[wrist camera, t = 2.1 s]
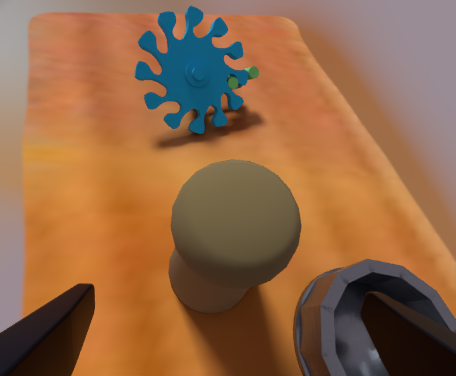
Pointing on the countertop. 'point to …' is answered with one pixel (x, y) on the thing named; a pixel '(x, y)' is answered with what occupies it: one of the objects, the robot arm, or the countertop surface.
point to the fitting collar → (355, 317)
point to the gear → (193, 71)
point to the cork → (230, 233)
